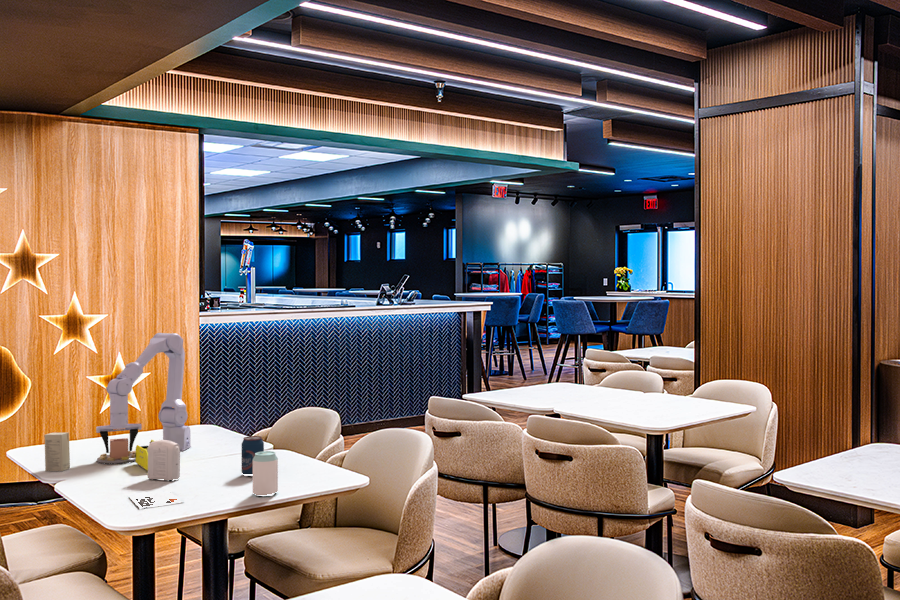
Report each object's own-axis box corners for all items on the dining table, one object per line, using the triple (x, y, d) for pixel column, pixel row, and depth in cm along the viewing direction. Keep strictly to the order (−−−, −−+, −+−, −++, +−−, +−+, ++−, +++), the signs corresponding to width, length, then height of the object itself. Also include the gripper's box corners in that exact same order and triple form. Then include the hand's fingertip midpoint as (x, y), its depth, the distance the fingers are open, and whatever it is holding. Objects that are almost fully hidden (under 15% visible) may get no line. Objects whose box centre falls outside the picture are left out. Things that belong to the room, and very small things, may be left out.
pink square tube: (127, 454, 267) (127, 438, 267) (128, 457, 262) (128, 440, 262) (110, 456, 265) (109, 439, 265) (110, 459, 260) (110, 442, 260)
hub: (147, 456, 270) (147, 443, 270) (129, 464, 256) (129, 451, 256) (109, 455, 271) (109, 443, 271) (89, 464, 257) (89, 451, 257)
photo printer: (182, 479, 235) (182, 439, 235) (173, 482, 231) (173, 442, 231) (154, 477, 238) (154, 438, 238) (145, 480, 234) (145, 440, 234)
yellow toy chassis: (164, 471, 247) (164, 445, 247) (146, 473, 244) (146, 447, 244) (152, 462, 260) (152, 438, 260) (134, 464, 257) (134, 440, 257)
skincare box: (70, 468, 250) (70, 432, 250) (62, 471, 245) (62, 434, 245) (52, 468, 250) (52, 431, 250) (44, 471, 246) (43, 434, 246)
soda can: (237, 476, 238) (237, 438, 238) (250, 471, 245) (249, 435, 245) (255, 478, 236) (255, 440, 236) (268, 473, 242) (268, 436, 242)
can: (254, 498, 211) (254, 456, 211) (250, 493, 218) (250, 451, 218) (279, 496, 214) (279, 454, 214) (275, 490, 220) (275, 449, 220)
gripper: (96, 415, 256) (96, 455, 256) (142, 412, 263) (142, 451, 263) (95, 413, 263) (95, 451, 263) (140, 410, 269) (140, 448, 269)
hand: (119, 451), depth 263 cm, fingers open, 7 cm apart
